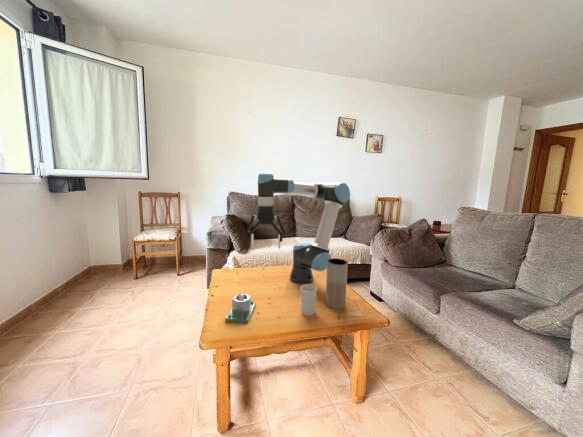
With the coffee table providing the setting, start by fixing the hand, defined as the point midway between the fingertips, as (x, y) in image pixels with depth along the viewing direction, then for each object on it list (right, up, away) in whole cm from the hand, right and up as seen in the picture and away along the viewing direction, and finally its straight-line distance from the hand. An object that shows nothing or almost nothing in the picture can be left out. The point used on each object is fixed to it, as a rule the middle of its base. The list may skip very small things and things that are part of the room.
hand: (265, 247), depth 119 cm
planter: (+35, -29, +2) cm, 46 cm away
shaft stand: (-10, -29, -8) cm, 32 cm away
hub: (-10, -28, -9) cm, 31 cm away
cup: (+21, -30, -6) cm, 37 cm away
